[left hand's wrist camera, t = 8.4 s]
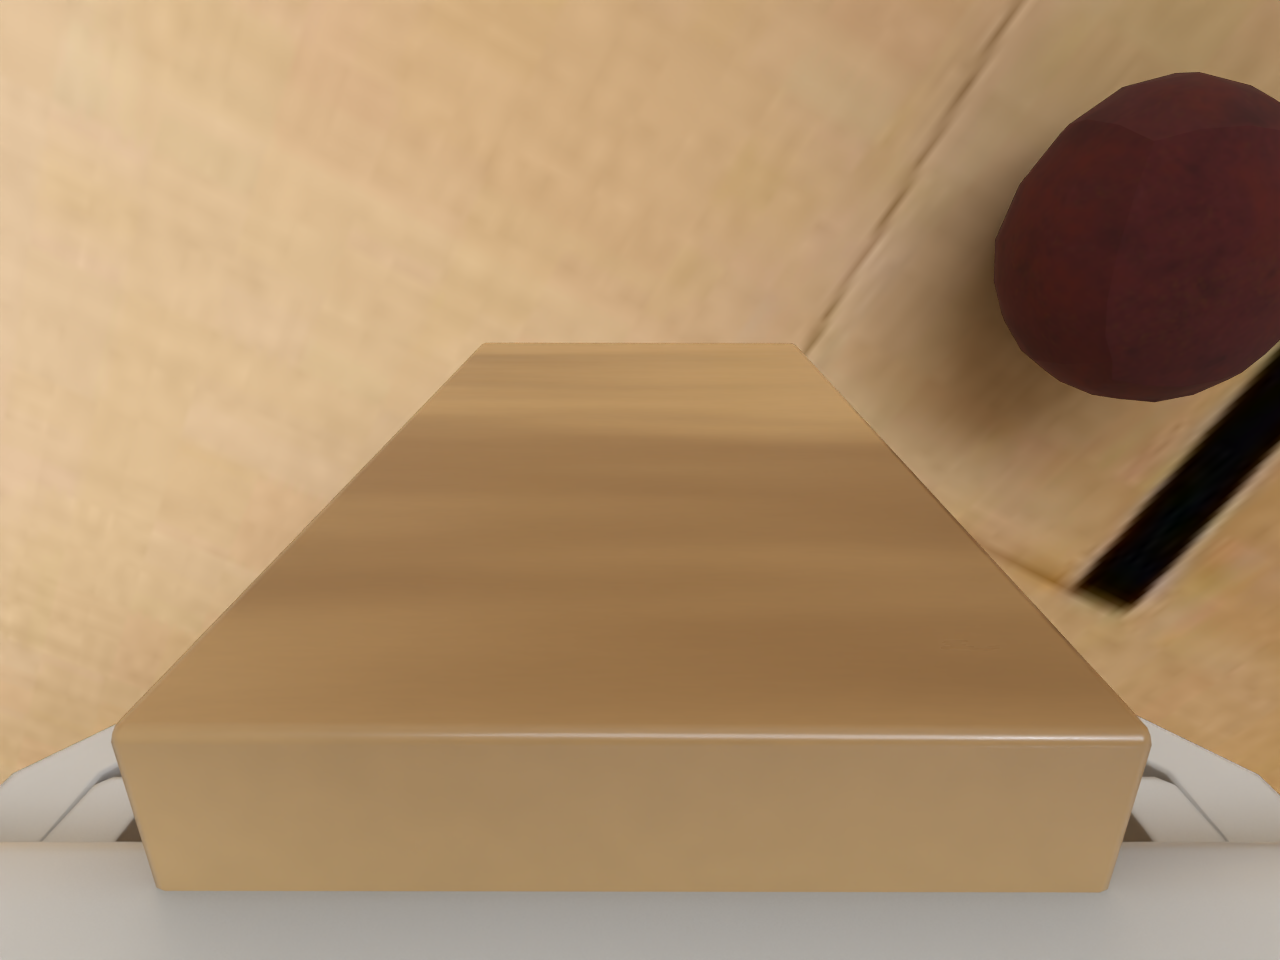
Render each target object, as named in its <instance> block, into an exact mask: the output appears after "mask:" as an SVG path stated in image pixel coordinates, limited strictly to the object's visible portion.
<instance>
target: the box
mask: <svg viewBox="0 0 1280 960" xmlns="http://www.w3.org/2000/svg"><path fill="white" fill-rule="evenodd" d="M111 744H112V747H113V750H114V753H115V757H116V760H117V763H118V766H119V769H120V773H121V776H122V779H123V782H124V785H125V789H126V792H127V795H128V798H129V801H130V805H131V808H132V811H133V814H134V817H135V821H136V824H137V827H138V830H139V833H140V837H141V840H142V843H143V846H144V849H145V853H146V856H147V859H148V862H149V866H150V869H151V872H152V875H153V878H154V882H155V885H156V888H159V889H161V890H164V891H533V892H1086V893H1099V892H1102V891H1105V890H1107V889H1108V887H1109V883H1110V880H1111V877H1112V874H1113V870H1114V867H1115V864H1116V861H1117V857H1118V854H1119V851H1120V847H1121V844H1122V841H1123V838H1124V834H1125V831H1126V828H1127V825H1128V821H1129V818H1130V815H1131V811H1132V808H1133V805H1134V802H1135V798H1136V795H1137V792H1138V789H1139V785H1140V782H1141V779H1142V776H1143V772H1144V769H1145V766H1146V762H1147V759H1148V756H1149V753H1150V749H1151V746H1152V743H1151V735H1150V733H1149V730H1148V728H1147V727H1146V725H1145V724H1144V723H1143V722H1142V721H1141V720H1140V719H1139V718H1138V717H1137V716H1136V715H1135V713H1134V712H1133V711H1132V710H1131V709H1130V708H1129V707H1128V706H1127V705H1126V704H1125V703H1124V702H1123V700H1122V699H1121V698H1120V697H1119V696H1118V695H1117V694H1116V693H1115V692H1114V691H1113V690H1112V688H1111V687H1110V686H1109V685H1108V684H1107V683H1106V682H1105V681H1104V680H1103V679H1102V678H1101V677H1100V675H1099V674H1098V673H1097V672H1096V671H1095V670H1094V669H1093V668H1092V667H1091V666H1090V665H1089V663H1088V662H1087V661H1086V660H1085V659H1084V658H1083V657H1082V656H1081V655H1080V654H1079V653H1078V652H1077V650H1076V649H1075V648H1074V647H1073V646H1072V645H1071V644H1070V643H1069V642H1068V641H1067V640H1066V639H1065V637H1064V636H1063V635H1062V634H1061V633H1060V632H1059V631H1058V630H1057V629H1056V628H1055V627H1054V625H1053V624H1052V623H1051V622H1050V621H1049V620H1048V619H1047V618H1046V617H1045V616H1044V615H1043V614H1042V612H1041V611H1040V610H1039V609H1038V608H1037V607H1036V606H1035V605H1034V604H1033V603H1032V602H1031V600H1030V599H1029V598H1028V597H1027V596H1026V595H1025V594H1024V593H1023V592H1022V591H1021V590H1020V589H1019V587H1018V586H1017V585H1016V584H1015V583H1014V582H1013V581H1012V580H1011V579H1010V578H1009V577H1008V575H1007V574H1006V573H1005V572H1004V571H1003V570H1002V569H1001V568H1000V567H999V566H998V565H997V564H996V562H995V561H994V560H993V559H992V558H991V557H990V556H989V555H988V554H987V553H986V552H985V551H984V549H983V548H982V547H981V546H980V545H979V544H978V543H977V542H976V541H975V540H974V539H973V537H972V536H971V535H970V534H969V533H968V532H967V531H966V530H965V529H964V528H963V527H962V526H961V524H960V523H959V522H958V521H957V520H956V519H955V518H954V517H953V516H952V515H951V514H950V512H949V511H948V510H947V509H946V508H945V507H944V506H943V505H942V504H941V503H940V502H939V501H938V499H937V498H936V497H935V496H934V495H933V494H932V493H931V492H930V491H929V490H928V489H927V487H926V486H925V485H924V484H923V483H922V482H921V481H920V480H919V479H918V478H917V477H916V476H915V474H914V473H913V472H912V471H911V470H910V469H909V468H908V467H907V466H906V465H905V464H904V463H903V461H902V460H901V459H900V458H899V457H898V456H897V455H896V454H895V453H894V452H893V451H892V449H891V448H890V447H889V446H888V445H887V444H886V443H885V442H884V441H883V440H882V439H881V438H880V436H879V435H878V434H877V433H876V432H875V431H874V430H873V429H872V428H871V427H870V426H869V424H868V423H867V422H866V421H865V420H864V419H863V418H862V417H861V416H860V415H859V414H858V413H857V411H856V410H855V409H854V408H853V407H852V406H851V405H850V404H849V403H848V402H847V401H846V399H845V398H844V397H843V396H842V395H841V394H840V393H839V392H838V391H837V390H836V389H835V388H834V386H833V385H832V384H831V383H830V382H829V381H828V380H827V379H826V378H825V377H824V376H823V374H822V373H821V372H820V371H819V370H818V369H817V368H816V367H815V366H814V365H813V364H812V363H811V361H810V360H809V359H808V358H807V357H806V356H805V355H804V354H803V353H802V352H801V351H800V350H799V348H798V347H797V346H796V345H794V344H781V343H484V344H482V345H481V346H480V347H479V348H478V349H477V350H476V351H475V352H474V353H473V354H472V355H471V356H470V358H469V359H468V360H467V361H466V362H465V363H464V364H463V365H462V366H461V367H460V368H459V369H458V370H457V371H456V372H455V373H454V374H453V375H452V376H451V377H450V378H449V379H448V380H447V381H446V382H445V383H444V385H443V386H442V387H441V388H440V389H439V390H438V391H437V392H436V393H435V394H434V395H433V396H432V397H431V398H430V399H429V400H428V401H427V402H426V403H425V404H424V405H423V406H422V407H421V408H420V409H419V410H418V411H417V413H416V414H415V415H414V416H413V417H412V418H411V419H410V420H409V421H408V422H407V423H406V424H405V425H404V426H403V427H402V428H401V429H400V430H399V431H398V432H397V433H396V434H395V435H394V436H393V437H392V438H391V439H390V441H389V442H388V443H387V444H386V445H385V446H384V447H383V448H382V449H381V450H380V451H379V452H378V453H377V454H376V455H375V456H374V457H373V458H372V459H371V460H370V461H369V462H368V463H367V464H366V465H365V466H364V467H363V469H362V470H361V471H360V472H359V473H358V474H357V475H356V476H355V477H354V478H353V479H352V480H351V481H350V482H349V483H348V484H347V485H346V486H345V487H344V488H343V489H342V490H341V491H340V492H339V493H338V494H337V495H336V497H335V498H334V499H333V500H332V501H331V502H330V503H329V504H328V505H327V506H326V507H325V508H324V509H323V510H322V511H321V512H320V513H319V514H318V515H317V516H316V517H315V518H314V519H313V520H312V521H311V522H310V523H309V525H308V526H307V527H306V528H305V529H304V530H303V531H302V532H301V533H300V534H299V535H298V536H297V537H296V538H295V539H294V540H293V541H292V542H291V543H290V544H289V545H288V546H287V547H286V548H285V549H284V550H283V551H282V553H281V554H280V555H279V556H278V557H277V558H276V559H275V560H274V561H273V562H272V563H271V564H270V565H269V566H268V567H267V568H266V569H265V570H264V571H263V572H262V573H261V574H260V575H259V576H258V577H257V578H256V580H255V581H254V582H253V583H252V584H251V585H250V586H249V587H248V588H247V589H246V590H245V591H244V592H243V593H242V594H241V595H240V596H239V597H238V598H237V599H236V600H235V601H234V602H233V603H232V604H231V605H230V606H229V608H228V609H227V610H226V611H225V612H224V613H223V614H222V615H221V616H220V617H219V618H218V619H217V620H216V621H215V622H214V623H213V624H212V625H211V626H210V627H209V628H208V629H207V630H206V631H205V632H204V633H203V634H202V636H201V637H200V638H199V639H198V640H197V641H196V642H195V643H194V644H193V645H192V646H191V647H190V648H189V649H188V650H187V651H186V652H185V653H184V654H183V655H182V656H181V657H180V658H179V659H178V660H177V661H176V662H175V664H174V665H173V666H172V667H171V668H170V669H169V670H168V671H167V672H166V673H165V674H164V675H163V676H162V677H161V678H160V679H159V680H158V681H157V682H156V683H155V684H154V685H153V686H152V687H151V688H150V689H149V690H148V692H147V693H146V694H145V695H144V696H143V697H142V698H141V699H140V700H139V701H138V702H137V703H136V704H135V705H134V706H133V707H132V708H131V709H130V710H129V711H128V712H127V713H126V714H125V715H124V716H123V717H122V718H121V720H120V721H119V722H118V723H117V724H116V725H115V727H114V730H113V732H112V738H111Z"/></svg>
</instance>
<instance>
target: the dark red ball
mask: <svg viewBox="0 0 1280 960" xmlns="http://www.w3.org/2000/svg"><path fill="white" fill-rule="evenodd" d="M994 283H995V287H996V291H997V296H998V300H999V304H1000V308H1001V313H1002V315H1003V318H1004V321H1005V323H1006V324H1007V326H1008V328H1009V330H1010V331H1011V333H1012V335H1013V337H1014V338H1015V340H1016V342H1017V344H1018V345H1019V347H1020V349H1021V350H1022V351H1023V352H1024V353H1025V354H1026V355H1028V356H1029V357H1030V358H1031V359H1032V360H1034V361H1035V362H1036V363H1037V364H1038V365H1039V366H1041V367H1042V368H1043V369H1044V370H1045V371H1047V372H1048V373H1050V374H1051V375H1052V376H1054V377H1055V378H1056V379H1058V380H1059V381H1061V382H1063V383H1065V384H1068V385H1070V386H1073V387H1075V388H1078V389H1080V390H1082V391H1085V392H1087V393H1090V394H1092V395H1098V396H1105V397H1111V398H1118V399H1128V400H1138V401H1149V402H1157V401H1163V400H1168V399H1173V398H1178V397H1184V396H1189V395H1194V394H1196V393H1198V392H1201V391H1203V390H1205V389H1207V388H1210V387H1212V386H1214V385H1217V384H1219V383H1221V382H1223V381H1226V380H1228V379H1230V378H1232V377H1234V376H1236V375H1238V374H1240V373H1242V372H1243V371H1244V370H1245V369H1247V368H1248V367H1249V366H1251V365H1252V364H1253V363H1254V362H1256V361H1257V360H1258V359H1259V358H1261V357H1262V356H1263V355H1265V354H1266V353H1267V352H1268V351H1269V350H1270V349H1271V348H1272V347H1273V346H1274V345H1275V344H1276V343H1277V342H1278V341H1279V340H1280V102H1278V101H1277V100H1275V99H1274V98H1272V97H1270V96H1268V95H1267V94H1265V93H1263V92H1262V91H1260V90H1258V89H1256V88H1255V87H1253V86H1251V85H1247V84H1243V83H1239V82H1235V81H1231V80H1228V79H1224V78H1220V77H1216V76H1212V75H1208V74H1204V73H1200V72H1192V73H1174V74H1170V75H1167V76H1163V77H1159V78H1155V79H1152V80H1148V81H1144V82H1140V83H1137V84H1133V85H1129V86H1125V87H1122V88H1121V89H1119V90H1118V91H1116V92H1115V93H1114V94H1112V95H1111V96H1109V97H1108V98H1106V99H1105V100H1104V101H1102V102H1101V103H1099V104H1098V105H1096V106H1095V107H1094V108H1092V109H1091V110H1089V111H1088V112H1086V113H1085V114H1084V115H1082V116H1081V117H1079V118H1078V119H1076V120H1075V121H1073V122H1072V123H1071V124H1069V125H1068V126H1067V127H1066V128H1065V129H1064V130H1063V131H1062V133H1061V134H1060V135H1059V136H1058V137H1057V139H1056V140H1055V141H1054V142H1053V144H1052V145H1051V146H1050V147H1049V149H1048V150H1047V151H1046V152H1045V154H1044V155H1043V156H1042V157H1041V159H1040V160H1039V161H1038V162H1037V164H1036V165H1035V166H1034V167H1033V169H1032V170H1031V171H1030V172H1029V174H1028V175H1027V176H1026V177H1025V178H1024V180H1023V181H1022V182H1021V183H1020V185H1019V187H1018V189H1017V192H1016V194H1015V196H1014V199H1013V201H1012V203H1011V205H1010V208H1009V210H1008V212H1007V214H1006V217H1005V219H1004V221H1003V224H1002V226H1001V228H1000V230H999V233H998V235H997V237H996V239H995V267H994Z"/></svg>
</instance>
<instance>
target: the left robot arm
mask: <svg viewBox="0 0 1280 960" xmlns="http://www.w3.org/2000/svg"><path fill="white" fill-rule="evenodd" d="M1136 716H1137V715H1136ZM1137 717H1138V718H1139V719H1140V720H1141V721H1142V722H1143V723H1144V724H1145V725H1146V727H1147V728H1148V730H1149V733H1150V735H1151V743H1152V746H1151V749H1150V753H1149V756H1148V759H1147V762H1146V766H1145V769H1144V772H1143V776H1142V779H1141V782H1140V785H1139V789H1138V792H1137V795H1136V798H1135V802H1134V805H1133V808H1132V811H1131V815H1130V818H1129V821H1128V825H1127V828H1126V831H1125V834H1124V838H1123V841H1122V844H1121V847H1120V851H1119V854H1118V857H1117V861H1116V864H1115V867H1114V870H1113V874H1112V877H1111V880H1110V883H1109V887H1108V889H1107V890H1105V891H1102V892H1099V893H1086V892H533V891H164V890H161V889H159V888H156V885H155V882H154V878H153V875H152V872H151V869H150V866H149V862H148V859H147V856H146V853H145V849H144V846H143V843H142V840H141V837H140V833H139V830H138V827H137V824H136V821H135V817H134V814H133V811H132V808H131V805H130V801H129V798H128V795H127V792H126V789H125V785H124V782H123V779H122V776H121V773H120V769H119V766H118V763H117V760H116V757H115V753H114V750H113V747H112V744H111V738H112V732H113V730H114V727H115V725H116V724H115V725H113V726H111V727H109V728H107V729H105V730H102V731H100V732H98V733H96V734H94V735H92V736H90V737H88V738H86V739H84V740H82V741H80V742H77V743H75V744H73V745H71V746H69V747H67V748H65V749H63V750H61V751H59V752H57V753H54V754H52V755H50V756H48V757H46V758H44V759H42V760H40V761H38V762H36V763H34V764H32V765H29V766H27V767H25V768H23V769H21V770H19V771H17V772H15V773H13V774H12V775H11V776H10V777H9V778H7V779H6V780H5V781H4V782H3V783H2V784H1V785H0V960H1280V795H1279V794H1278V793H1277V792H1276V791H1275V790H1274V789H1273V788H1272V787H1271V786H1270V785H1269V784H1268V783H1267V782H1266V781H1265V780H1263V779H1262V778H1261V777H1260V776H1259V775H1258V774H1256V773H1254V772H1252V771H1250V770H1248V769H1246V768H1244V767H1242V766H1240V765H1238V764H1236V763H1233V762H1231V761H1229V760H1227V759H1225V758H1223V757H1221V756H1219V755H1217V754H1215V753H1213V752H1211V751H1209V750H1207V749H1205V748H1203V747H1201V746H1198V745H1196V744H1194V743H1192V742H1190V741H1188V740H1186V739H1184V738H1182V737H1180V736H1178V735H1176V734H1174V733H1172V732H1170V731H1168V730H1166V729H1163V728H1161V727H1159V726H1157V725H1155V724H1153V723H1151V722H1149V721H1147V720H1145V719H1143V718H1141V717H1139V716H1137Z"/></svg>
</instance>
